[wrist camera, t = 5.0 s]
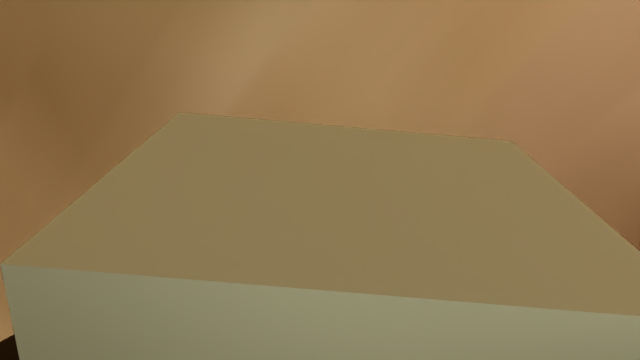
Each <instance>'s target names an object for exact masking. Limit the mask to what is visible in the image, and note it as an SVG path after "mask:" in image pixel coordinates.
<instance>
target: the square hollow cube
mask: <svg viewBox="0 0 640 360" xmlns="http://www.w3.org/2000/svg"><path fill="white" fill-rule="evenodd" d="M0 265H1V270H2V275H3V280H4V285H5V290H6V295H7V300H8V305H9V310H10V315H11V320H12V325H13V330H14V335H15V340H16V345H17V350H18V355H19V359H20V360H640V251H639V250H638V249H636V248H635V247H634V246H633V245H632V244H631V243H629V242H628V241H627V240H626V239H625V238H624V237H623V236H621V235H620V234H619V233H618V232H617V231H616V230H614V229H613V228H612V227H611V226H610V225H609V224H607V223H606V222H605V221H604V220H603V219H602V218H600V217H599V216H598V215H597V214H596V213H595V212H594V211H592V210H591V209H590V208H589V207H588V206H587V205H585V204H584V203H583V202H582V201H581V200H580V199H578V198H577V197H576V196H575V195H574V194H573V193H571V192H570V191H569V190H568V189H567V188H566V187H564V186H563V185H562V184H561V183H560V182H559V181H558V180H556V179H555V178H554V177H553V176H552V175H551V174H549V173H548V172H547V171H546V170H545V169H544V168H542V167H541V166H540V165H539V164H538V163H537V162H535V161H534V160H533V159H532V158H531V157H530V156H529V155H527V154H526V153H525V152H524V151H523V150H522V149H520V148H519V147H518V146H517V145H516V144H515V143H513V142H512V141H506V140H494V139H483V138H471V137H460V136H448V135H436V134H425V133H413V132H402V131H390V130H379V129H367V128H355V127H344V126H332V125H321V124H309V123H298V122H286V121H275V120H263V119H251V118H240V117H228V116H217V115H205V114H194V113H182V112H179V113H178V114H177V115H176V116H175V117H173V118H172V119H171V120H170V121H169V122H168V123H166V124H165V125H164V126H163V127H162V128H160V129H159V130H158V131H157V132H156V133H155V134H153V135H152V136H151V137H150V138H149V139H147V140H146V141H145V142H144V143H143V144H141V145H140V146H139V147H138V148H137V149H136V150H134V151H133V152H132V153H131V154H130V155H128V156H127V157H126V158H125V159H124V160H123V161H121V162H120V163H119V164H118V165H117V166H115V167H114V168H113V169H112V170H111V171H110V172H108V173H107V174H106V175H105V176H104V177H102V178H101V179H100V180H99V181H98V182H97V183H95V184H94V185H93V186H92V187H91V188H89V189H88V190H87V191H86V192H85V193H83V194H82V195H81V196H80V197H79V198H78V199H76V200H75V201H74V202H73V203H72V204H70V205H69V206H68V207H67V208H66V209H65V210H63V211H62V212H61V213H60V214H59V215H57V216H56V217H55V218H54V219H53V220H52V221H50V222H49V223H48V224H47V225H46V226H44V227H43V228H42V229H41V230H40V231H39V232H37V233H36V234H35V235H34V236H33V237H31V238H30V239H29V240H28V241H27V242H25V243H24V244H23V245H22V246H21V247H20V248H18V249H17V250H16V251H15V252H14V253H12V254H11V255H10V256H9V257H8V258H7V259H5V260H4V261H3V262H2V263H1V264H0Z"/></svg>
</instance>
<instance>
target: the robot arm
mask: <svg viewBox="0 0 640 360" xmlns="http://www.w3.org/2000/svg"><path fill="white" fill-rule="evenodd" d="M0 360H20V359H19V355H18V350H17V345H16V340H15V335H12V336H10V337H8V338H6V339H4V340H3V341H1V342H0Z"/></svg>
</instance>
